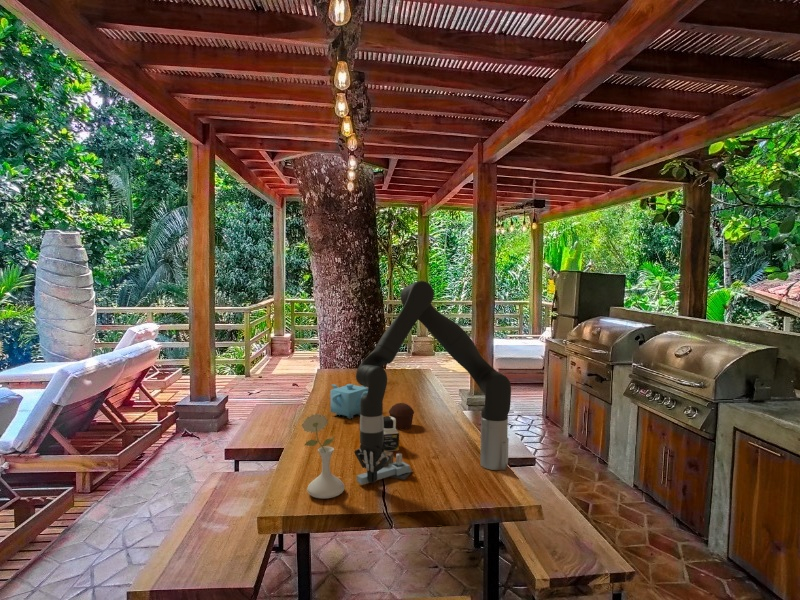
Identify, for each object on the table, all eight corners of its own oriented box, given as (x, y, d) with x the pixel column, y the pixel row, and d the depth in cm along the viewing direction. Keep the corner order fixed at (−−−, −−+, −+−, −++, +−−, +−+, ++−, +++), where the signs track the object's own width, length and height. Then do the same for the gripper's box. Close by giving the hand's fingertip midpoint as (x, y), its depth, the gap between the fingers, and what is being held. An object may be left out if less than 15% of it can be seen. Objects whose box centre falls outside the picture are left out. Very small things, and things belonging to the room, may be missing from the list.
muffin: (384, 424, 208) (384, 402, 208) (406, 420, 214) (406, 399, 213) (396, 432, 198) (396, 409, 197) (418, 428, 203) (419, 406, 202)
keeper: (393, 467, 162) (393, 452, 162) (384, 475, 155) (384, 460, 155) (382, 465, 164) (382, 450, 163) (374, 473, 157) (374, 458, 157)
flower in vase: (346, 484, 148) (346, 407, 147) (343, 502, 137) (342, 419, 135) (305, 485, 148) (304, 408, 146) (298, 502, 136) (298, 419, 135)
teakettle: (330, 421, 212) (330, 389, 211) (330, 409, 231) (330, 380, 230) (371, 419, 215) (371, 388, 214) (368, 408, 233) (368, 379, 233)
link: (400, 466, 160) (400, 460, 160) (409, 471, 156) (409, 465, 156) (355, 480, 149) (355, 473, 149) (363, 486, 145) (363, 479, 145)
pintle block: (412, 471, 158) (412, 452, 158) (404, 480, 152) (404, 459, 151) (393, 468, 161) (393, 449, 161) (385, 476, 155) (385, 456, 154)
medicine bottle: (381, 452, 175) (381, 421, 175) (376, 445, 182) (377, 415, 182) (399, 450, 177) (399, 419, 177) (394, 444, 184) (394, 414, 184)
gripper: (395, 428, 145) (396, 482, 146) (362, 421, 152) (362, 473, 153) (382, 435, 139) (382, 491, 140) (347, 427, 146) (348, 481, 147)
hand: (372, 482), depth 146 cm, fingers closed
